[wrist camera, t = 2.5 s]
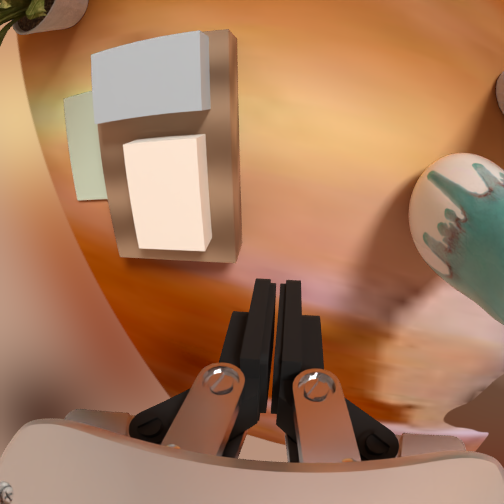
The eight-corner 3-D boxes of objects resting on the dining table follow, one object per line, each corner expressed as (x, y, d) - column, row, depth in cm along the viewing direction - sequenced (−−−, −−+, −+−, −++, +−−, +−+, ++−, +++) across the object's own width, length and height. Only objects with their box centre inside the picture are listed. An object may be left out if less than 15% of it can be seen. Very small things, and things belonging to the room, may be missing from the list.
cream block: (137, 139, 23) (122, 144, 21) (205, 134, 22) (196, 138, 20) (150, 235, 27) (139, 248, 25) (212, 237, 26) (205, 251, 24)
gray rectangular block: (110, 120, 22) (94, 124, 20) (107, 56, 19) (91, 54, 17) (210, 109, 21) (201, 110, 19) (208, 36, 18) (199, 30, 16)
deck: (116, 57, 22) (93, 55, 19) (236, 38, 21) (228, 29, 18) (136, 239, 32) (120, 256, 29) (242, 242, 31) (235, 263, 27)
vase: (375, 217, 28) (448, 355, 12) (435, 121, 22) (577, 174, 7) (447, 266, 29) (520, 386, 14) (502, 186, 24) (611, 272, 8)
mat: (65, 98, 25) (63, 98, 24) (117, 85, 24) (115, 85, 24) (79, 199, 31) (77, 200, 30) (128, 196, 30) (127, 198, 29)
